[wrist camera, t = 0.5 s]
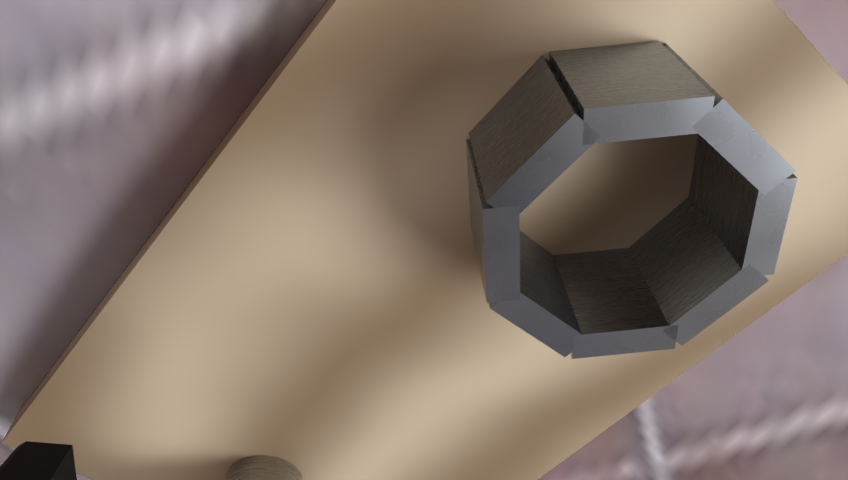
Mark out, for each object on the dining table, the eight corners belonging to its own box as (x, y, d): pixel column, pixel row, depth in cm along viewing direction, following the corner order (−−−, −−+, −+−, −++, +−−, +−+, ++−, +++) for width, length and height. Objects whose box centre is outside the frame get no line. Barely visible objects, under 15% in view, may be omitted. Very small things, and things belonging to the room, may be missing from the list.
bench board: (906, 164, 18) (937, 187, 17) (380, 563, 27) (380, 593, 26) (526, -266, 13) (539, -268, 12) (19, 411, 21) (1, 442, 20)
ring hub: (776, 153, 16) (847, 222, 14) (587, 310, 19) (619, 392, 16) (607, -15, 14) (656, 32, 12) (415, 189, 16) (422, 264, 14)
